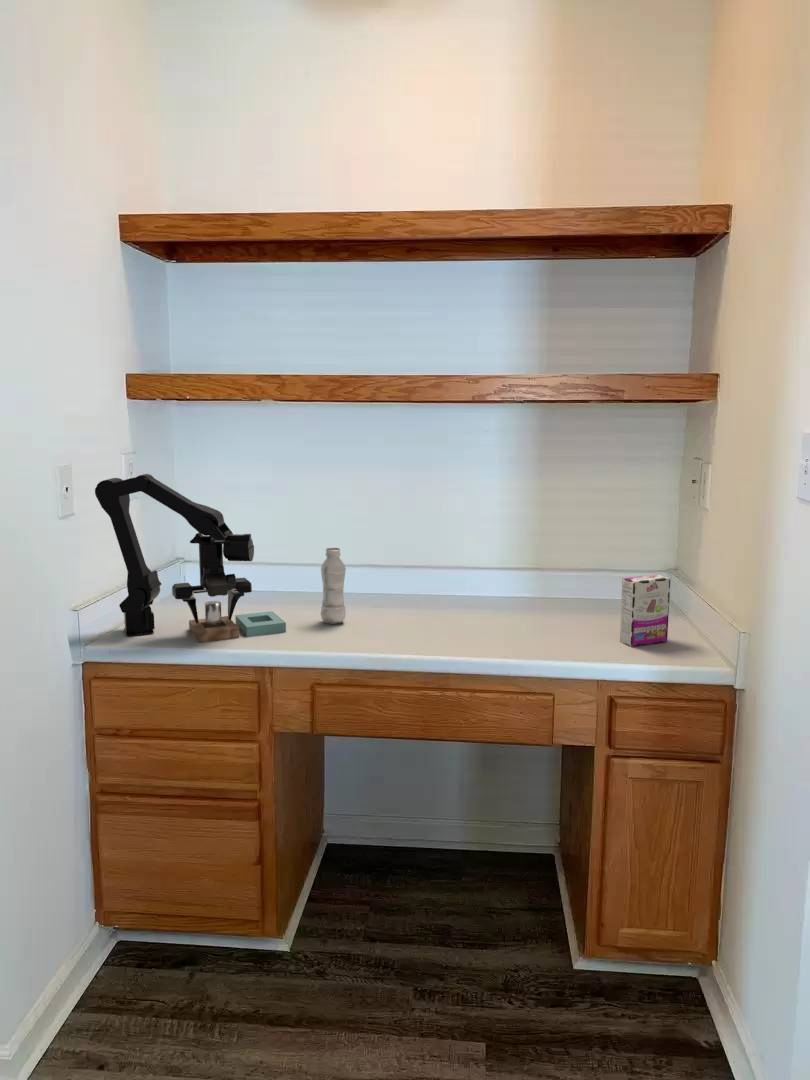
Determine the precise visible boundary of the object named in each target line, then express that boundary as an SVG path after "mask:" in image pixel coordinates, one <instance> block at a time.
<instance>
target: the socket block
mask: <svg viewBox="0 0 810 1080" xmlns="http://www.w3.org/2000/svg"><path fill="white" fill-rule="evenodd" d="M221 618H222V626H220V627H211V628H205V618H198V624H196V622H195V620H194V619H190V620H188V630H189V631H190V633H191V635H192V636H193V637H194V639H195V640H196V641H197V643H199V644H200V643H207V642H214V641H216V642H218V641H225V640H231V639H232V640H233V639H239V638H240V628H239V627H238V626H237V625H236V622H234V621H233V620H232V619H231V620H229V619H228V615H224V616H221Z"/></svg>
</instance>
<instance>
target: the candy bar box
mask: <svg viewBox="0 0 810 1080" xmlns="http://www.w3.org/2000/svg"><path fill="white" fill-rule="evenodd" d="M670 594H671V577H669V576H665V575H662V574H650V575H640V576H633V577H632V576H630V577H623V578H622V582H621V609H620V631H619V632H620V633H619V634H620V636H619V641H620V642H621V643H622V642H623V643H622V644H624V643H625V645H626V644H627V645H626V646H629V647H631V646H634V647H640V645H642V646H647V645H648V644H649V645H655V644H662V643H666V642H668V634H669V633H668V631H669V615H670V613H669V609H670Z"/></svg>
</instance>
